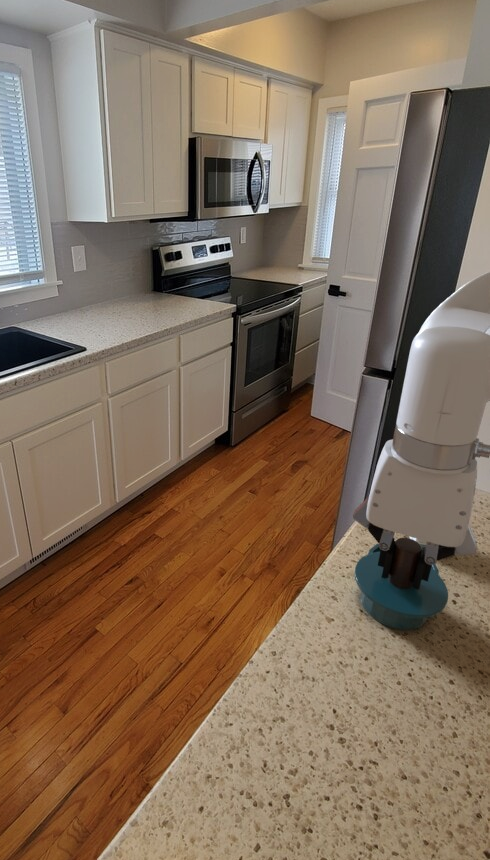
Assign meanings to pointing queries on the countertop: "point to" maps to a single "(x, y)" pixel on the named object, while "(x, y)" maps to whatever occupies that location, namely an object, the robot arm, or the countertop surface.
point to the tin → (389, 617)
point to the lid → (401, 583)
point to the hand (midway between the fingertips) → (401, 575)
